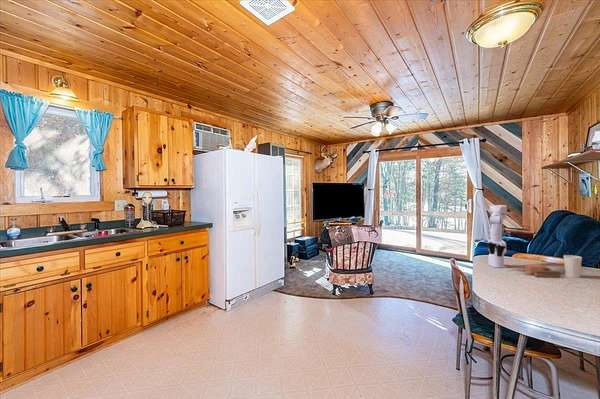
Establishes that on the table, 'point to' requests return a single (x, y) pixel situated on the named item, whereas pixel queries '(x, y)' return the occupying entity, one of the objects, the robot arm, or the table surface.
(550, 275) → the wooden l-shaped bracket
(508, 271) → the table surface
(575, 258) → the cup
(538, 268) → the block
